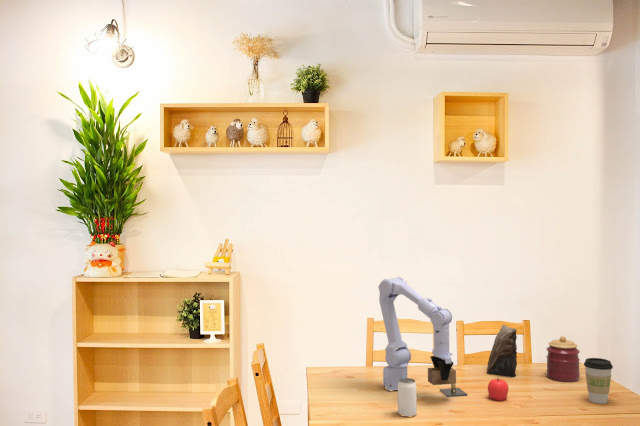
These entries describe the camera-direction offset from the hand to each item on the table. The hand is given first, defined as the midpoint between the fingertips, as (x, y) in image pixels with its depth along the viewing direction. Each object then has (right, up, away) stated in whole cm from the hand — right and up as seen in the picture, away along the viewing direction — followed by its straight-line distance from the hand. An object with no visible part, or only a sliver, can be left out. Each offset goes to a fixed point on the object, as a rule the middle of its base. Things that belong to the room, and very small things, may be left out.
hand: (441, 377), depth 223 cm
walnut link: (0, -2, 0) cm, 2 cm away
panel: (+6, -8, +8) cm, 13 cm away
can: (-15, -9, -15) cm, 23 cm away
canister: (+57, -8, +26) cm, 63 cm away
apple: (+22, -8, +1) cm, 23 cm away
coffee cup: (+58, -8, -3) cm, 58 cm away
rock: (+33, -8, +34) cm, 48 cm away
